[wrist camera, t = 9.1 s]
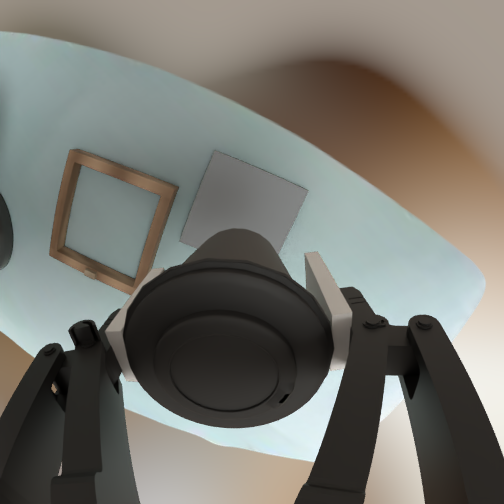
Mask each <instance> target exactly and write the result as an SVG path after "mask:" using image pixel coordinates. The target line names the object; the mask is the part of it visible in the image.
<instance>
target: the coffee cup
mask: <svg viewBox="0 0 504 504" xmlns="http://www.w3.org/2000/svg"><path fill="white" fill-rule="evenodd" d="M123 340H124V345H125V349H126V354H127V359H128V362H129V365H130V368H131V370H132V372H133V374H134V376H135V378H136V379H137V381H138V382H139V383H140V385H141V386H142V388H143V389H144V390H145V391H146V392H147V393H148V394H149V395H150V396H151V397H152V398H153V399H154V400H155V401H157V402H158V403H159V404H160V405H162V406H163V407H165V408H166V409H168V410H169V411H171V412H173V413H174V414H177V415H179V416H181V417H183V418H185V419H188V420H191V421H193V422H196V423H200V424H204V425H208V426H213V427H221V428H247V427H255V426H260V425H265V424H268V423H271V422H274V421H277V420H280V419H282V418H284V417H286V416H288V415H290V414H292V413H293V412H295V411H297V410H298V409H300V408H301V407H302V406H303V405H304V404H306V403H307V402H308V401H309V400H310V399H311V398H312V397H313V396H314V394H315V393H316V392H317V391H318V389H319V387H320V386H321V384H322V383H323V381H324V379H325V378H326V376H327V375H328V372H329V368H330V364H331V360H332V356H333V353H334V343H333V336H332V329H331V323H330V321H329V319H328V317H327V316H326V314H325V313H324V311H323V309H322V308H321V306H320V305H319V303H318V301H317V300H316V298H315V297H314V295H312V294H311V293H310V292H309V291H307V290H306V289H305V288H303V287H302V286H301V285H299V284H298V283H297V282H296V281H294V280H293V279H292V278H291V276H290V275H289V273H288V271H287V269H286V268H285V266H284V264H283V263H282V261H281V259H280V257H279V256H278V254H277V252H276V251H275V249H274V248H273V246H272V245H271V243H270V242H269V241H268V240H267V239H265V238H264V237H263V236H261V235H260V234H259V233H256V232H253V231H251V230H248V229H239V228H231V229H227V230H223V231H220V232H218V233H216V234H215V235H213V236H212V237H210V238H209V239H207V240H206V241H205V242H204V243H203V244H202V245H201V246H200V247H199V248H198V249H197V250H196V251H195V252H194V253H193V254H192V255H191V256H190V257H189V258H188V259H187V260H186V261H185V262H184V263H183V264H182V265H178V266H174V267H170V268H168V269H167V270H165V271H164V272H162V273H161V274H160V275H158V276H157V277H155V278H154V279H152V280H151V281H149V282H148V283H146V284H145V285H143V286H142V288H141V289H140V291H139V292H138V294H137V295H136V297H135V298H134V300H133V301H132V303H131V304H130V306H129V307H128V309H127V312H126V318H125V324H124V330H123Z"/></svg>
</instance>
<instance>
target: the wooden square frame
mask: <svg viewBox="0 0 504 504" xmlns="http://www.w3.org/2000/svg"><path fill="white" fill-rule="evenodd" d="M81 165H84V166H86V167H89V168H91V169H94V170H97V171H99V172H102V173H104V174H107V175H110V176H112V177H115V178H117V179H120V180H122V181H125V182H128V183H130V184H133V185H135V186H138V187H140V188H143V189H145V190H148V191H150V192H153V193H155V194H158V195H160V196H161V197H160V200H159V203H158V206H157V209H156V212H155V215H154V218H153V221H152V224H151V227H150V230H149V234H148V237H147V240H146V244H145V247H144V250H143V254H142V257H141V261H140V264H139V268H138V271H137V275H136V279H133V278H131V277H129V276H126V275H124V274H122V273H120V272H118V271H115V270H113V269H111V268H109V267H107V266H105V265H102V264H100V263H98V262H96V261H94V260H92V259H90V258H88V257H86V256H83V255H81V254H79V253H77V252H75V251H73V250H71V249H69V248H67V247H65V246H64V245H65V239H66V233H67V227H68V221H69V216H70V211H71V206H72V202H73V197H74V193H75V189H76V184H77V180H78V176H79V173H80V169H81ZM178 189H179V187H178V186H175V185H173V184H170V183H168V182H165V181H163V180H160V179H157V178H155V177H152V176H150V175H147V174H144V173H142V172H139V171H137V170H134V169H131V168H129V167H126V166H123V165H121V164H118V163H115V162H113V161H110V160H107V159H104V158H102V157H99V156H96V155H94V154H91V153H88V152H85V151H82V150H80V149H72V150H70V151H69V154H68V158H67V162H66V166H65V170H64V174H63V178H62V182H61V187H60V191H59V196H58V201H57V206H56V212H55V217H54V224H53V230H52V237H51V244H50V253H49V255H50V256H51V257H53V258H55V259H57V260H59V261H61V262H63V263H65V264H67V265H69V266H71V267H72V268H74V269H76V270H78V271H80V272H82V273H84V275H85V276H87V277H89V278H92V279H94V280H95V279H97V280H99V281H101V282H103V283H105V284H107V285H109V286H112V287H114V288H116V289H118V290H120V291H122V292H125V293H127V294H129V295H132V294H133V293H134V291H135V290H136V289H137V287H138V286H139V285H140V284H141V282H142V281H143V280H144V278H145V277H146V276H147V275H148V273H149V272H150V271H151V269H152V265H153V262H154V259H155V256H156V252H157V249H158V246H159V243H160V240H161V237H162V234H163V231H164V228H165V225H166V222H167V219H168V216H169V213H170V211H171V208H172V205H173V202H174V199H175V197H176V194H177V191H178Z"/></svg>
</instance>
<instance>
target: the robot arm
mask: <svg viewBox="0 0 504 504" xmlns="http://www.w3.org/2000/svg"><path fill="white" fill-rule="evenodd" d="M12 246H13V233H12V225H11V220H10V216H9V212H8V209H7V207H6V204H5V202H4V200H3V198H2V196H1V195H0V270H1V269H2V268H4V267H5V266H6V265H7V263H8V262H9V259H10V257H11V253H12ZM305 271H306V290H307V291H309V292H310V293H311V294H312V295H314V297H315V298H316V300H317V301H318V303H319V305H320V306H321V308H322V309H323V311H324V313H325V314H326V316H327V317H328V319H329V321H330V323H331V329H332V336H333V343H334V353H333V356H332V360H331V364H330V368H329V369H330V371H334V370H340V369H344V373H343V376H342V380H341V384H340V387H339V391H338V394H337V398H336V401H335V404H334V407H333V411H332V414H331V417H330V420H329V423H328V426H327V429H326V432H325V435H324V438H323V441H322V444H321V447H320V449H319V452H318V455H317V457H316V460H315V463H314V466H313V468H312V471H311V473H310V476H309V478H308V480H307V482H306V483H305V484H304V485H303V486H302V488H301V490H300V492H299V494H298V496H297V498H296V500H295V503H294V504H363V503H364V499H365V488H366V484H367V480H368V476H369V472H370V467H371V463H372V458H373V454H374V449H375V444H376V439H377V433H378V427H379V421H380V415H381V408H382V401H383V393H384V385H385V375H398V377H399V380H400V384H401V387H402V391H403V395H404V399H405V402H406V407H407V410H408V414H409V419H410V423H411V428H412V432H413V437H414V441H415V446H416V451H417V456H418V461H419V467H420V472H421V479H422V485H423V492H424V499H425V504H504V457H503V454H502V451H501V449H500V446H499V443H498V441H497V438H496V436H495V433H494V430H493V428H492V425H491V423H490V421H489V418H488V416H487V414H486V411H485V409H484V407H483V405H482V402H481V400H480V398H479V396H478V394H477V392H476V389H475V387H474V386H473V384H472V381H471V379H470V377H469V375H468V373H467V372H466V369H465V367H464V365H463V364H462V362H461V360H460V358H459V356H458V354H457V352H456V351H455V349H454V347H453V345H452V343H451V342H450V340H449V338H448V336H447V335H446V333H445V331H444V329H443V328H442V326H441V324H440V323H439V321H438V320H437V319H436V318H434V317H432V316H429V315H417V316H414V317H412V318H410V320H409V322H408V326H393V325H389V322H388V320H387V319H386V318H385V317H382V316H380V315H375V313H374V312H373V310H372V309H371V307H370V306H369V304H368V303H367V302H366V300H365V298H363V295H362V294H361V292H360V291H359V290H357V289H356V288H354V287H346V288H339V287H338V286H337V284H336V282H335V280H334V279H333V277H332V275H331V273H330V272H329V270H328V268H327V266H326V265H325V263H324V261H323V259H322V258H321V256H320V254H319V253H318V252H310V253H305ZM162 272H164V268H156V269H152V270H151V271H150V272H149V273H148V275H147V276H146V277H145V278H144V280H143V281H142V282H141V284H140V285H139V286H138V287H137V289H136V290H135V291H134V293H133V294H132V295H131V297H130V298H129V299H128V301H127V302H126V303H125V305H124V306H123V307H122V308H121V309H117V310H116V311H114V312H113V313H112V314H111V315H110V316H109V317H108V319H107V320H106V321H105V323H104V325H102V327H101V328H100V329H99V331H98V330H97V327H96V325H95V322H94V321H92V320H83V321H80V322H77V323H76V324H74V325H73V326H71V327H70V329H69V330H68V331H69V334H70V336H71V338H72V341H73V343H74V345H75V350H71V351H65V352H64V351H63V349H62V347H61V345H60V344H58V343H52V344H48V345H46V346H45V347H43V348H42V349H41V350H40V351H39V353H38V354H37V356H36V357H35V359H34V361H33V362H32V364H31V365H30V367H29V369H28V370H27V372H26V373H25V375H24V376H23V378H22V380H21V381H20V383H19V385H18V387H17V388H16V390H15V392H14V394H13V395H12V397H11V399H10V401H9V402H8V405H7V406H6V408H5V410H4V412H3V414H2V416H1V417H0V504H140V501H139V496H138V492H137V487H136V483H135V478H134V472H133V467H132V462H131V456H130V450H129V443H128V436H127V429H126V422H125V412H124V402H123V391H122V384H121V381H120V379H119V376H120V374H121V372H122V373H123V375H124V377H125V379H126V381H133V382H138V381H137V379H136V378H135V376H134V374H133V372H132V370H131V368H130V365H129V362H128V359H127V354H126V349H125V345H124V340H123V330H124V324H125V318H126V312H127V309H128V307H129V306H130V304H131V303H132V301H133V300H134V298H135V297H136V295H137V294H138V292H139V291H140V289H141V288H142V286H143V285H145V284H146V283H148V282H149V281H151V280H152V279H154V278H155V277H157V276H158V275H160V274H161V273H162ZM52 384H54V386H55V388H56V389H57V391H56V393H54V392H53V391H52V390H51V387H52ZM61 462H62V474H61V476H58V473H59V469H60V466H61Z"/></svg>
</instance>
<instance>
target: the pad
mask: <svg viewBox="0 0 504 504" xmlns="http://www.w3.org/2000/svg"><path fill="white" fill-rule="evenodd" d="M307 193H308V190H306V189H304V188H302V187H300V186H298V185H295V184H293V183H291V182H289V181H287V180H284V179H282V178H280V177H278V176H275V175H273V174H271V173H269V172H266V171H264V170H262V169H259V168H257V167H255V166H252V165H250V164H248V163H245V162H243V161H240V160H238V159H236V158H233V157H231V156H228V155H226V154H223V153H221V152H218V151H216V150H215V151H214V153H213V156H212V158H211V160H210V163H209V165H208V168H207V170H206V173H205V175H204V177H203V180H202V182H201V185H200V187H199V190H198V193H197V195H196V198H195V200H194V203H193V205H192V208H191V211H190V213H189V216H188V219H187V221H186V224H185V227H184V230H183V232H182V235H181V238H180V242H182V243H185V244H187V245H189V246H192V247H194V248H197V249H198V248H199V247H200V246H201V245H202V244H203V243H204V242H205V241H206V240H207V239H209V238H210V237H212V236H213V235H215V234H216V233H218V232H220V231H223V230H227V229H231V228H239V229H248V230H251V231H253V232H256V233H259V234H260V235H261V236H263V237H264V238H265V239H267V240H268V241H269V242H270V243H271V245H272V246H273V248H274V249H275V251H276V252H277V254H279V252H280V250H281V248H282V246H283V244H284V241H285V239H286V237H287V235H288V233H289V231H290V229H291V227H292V225H293V223H294V221H295V219H296V217H297V215H298V212H299V210H300V208H301V206H302V204H303V202H304V200H305V198H306V196H307Z"/></svg>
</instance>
